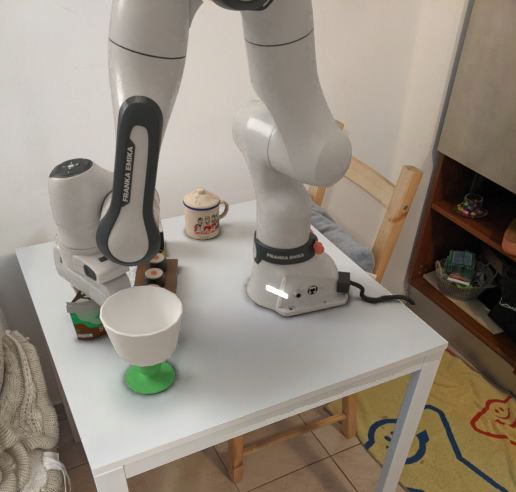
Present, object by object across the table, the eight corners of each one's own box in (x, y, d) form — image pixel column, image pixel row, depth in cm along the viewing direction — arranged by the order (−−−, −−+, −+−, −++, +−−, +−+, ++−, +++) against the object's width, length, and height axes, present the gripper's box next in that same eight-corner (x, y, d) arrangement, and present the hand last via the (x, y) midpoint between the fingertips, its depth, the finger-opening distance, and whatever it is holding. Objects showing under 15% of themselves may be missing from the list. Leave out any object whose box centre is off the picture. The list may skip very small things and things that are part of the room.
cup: (196, 394, 99) (192, 326, 89) (118, 412, 95) (105, 343, 85) (178, 345, 109) (173, 279, 98) (107, 359, 105) (94, 292, 94)
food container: (104, 349, 107) (96, 309, 100) (74, 344, 108) (64, 303, 101) (128, 311, 116) (122, 271, 109) (100, 306, 117) (93, 267, 110)
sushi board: (178, 265, 129) (177, 247, 126) (174, 319, 115) (172, 300, 111) (139, 266, 129) (137, 247, 125) (130, 320, 114) (127, 301, 111)
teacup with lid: (194, 244, 137) (192, 200, 129) (178, 227, 142) (176, 185, 135) (236, 232, 142) (237, 190, 134) (220, 217, 147) (219, 175, 140)
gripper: (39, 234, 103) (53, 295, 112) (104, 281, 93) (114, 343, 102) (68, 223, 106) (80, 282, 115) (135, 266, 96) (142, 328, 105)
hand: (97, 311), depth 108 cm, fingers open, 8 cm apart
